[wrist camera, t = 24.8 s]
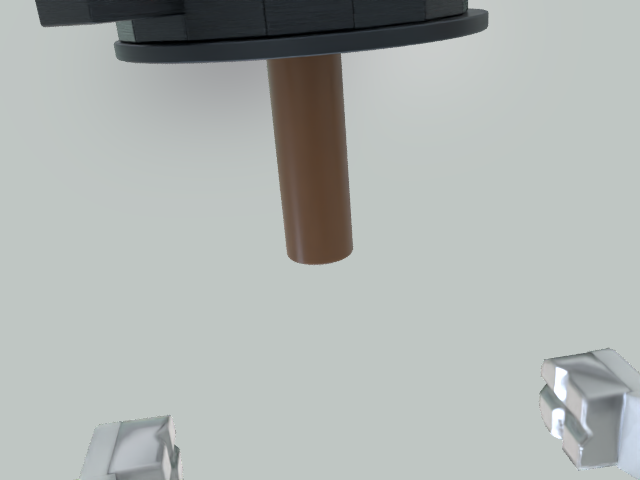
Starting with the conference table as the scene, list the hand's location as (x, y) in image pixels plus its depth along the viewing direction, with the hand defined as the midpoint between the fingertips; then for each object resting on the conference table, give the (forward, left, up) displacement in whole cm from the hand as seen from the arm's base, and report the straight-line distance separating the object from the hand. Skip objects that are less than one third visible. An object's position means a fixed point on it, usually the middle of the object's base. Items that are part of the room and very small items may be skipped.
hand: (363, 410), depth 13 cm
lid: (+8, +8, -8) cm, 14 cm away
